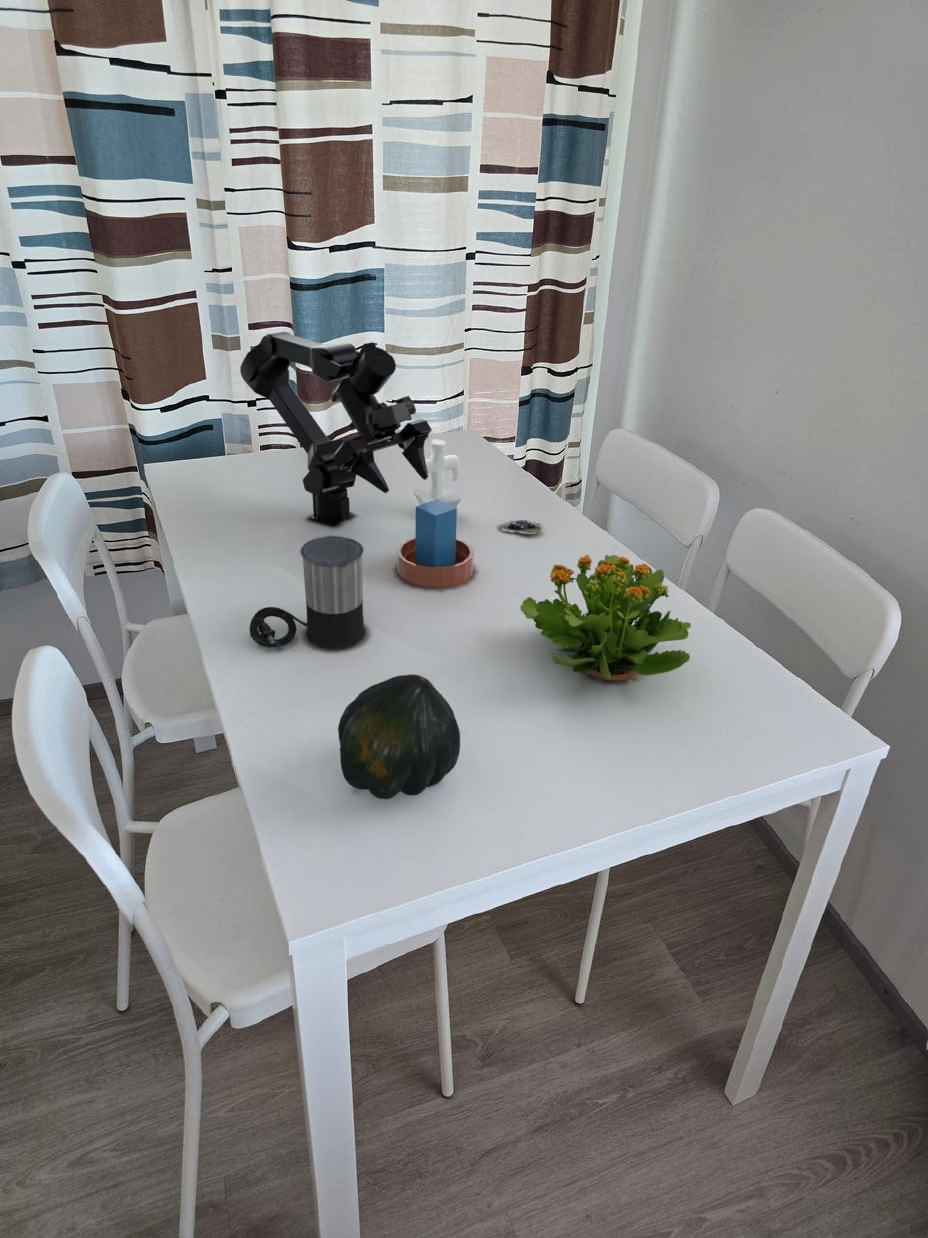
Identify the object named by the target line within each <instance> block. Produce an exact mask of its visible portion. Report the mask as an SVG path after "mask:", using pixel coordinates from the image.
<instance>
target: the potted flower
mask: <svg viewBox="0 0 928 1238" xmlns="http://www.w3.org/2000/svg"><path fill="white" fill-rule="evenodd" d="M630 561H631V560H630V559H629V558H628V557H625V556H622V555H621V556H619V555H616V554H611V555H608V554H606V555H605V556H604V560H603V559H600V560H599V561H598V562H597V566H595V568H594V571H593V574H590V575H589V577H588V576H587V571H590V570H592V568H591V566H592V562H593V559H592V558H591V556H590V555H588V554H585V555H584V556H580V558H578V560H577V568H578V569H579V570H580V573H578V574H577V575H576V577H573V576H572V575H574V574H575V573H576V572H575V571H574V570H573V569H571V568H568V567H566V565H563V564H554V565H553V566H552V569H551V572H550V573H549V574H550V575H549V576H550V582H552V583H553V584H554V585H555V586H556V588H557V589H555V590H554V593H555V594H556V595H558V597H559V598H554V599H553V601H550V599H548V598H546V599H544V600H540V601H538V602H537V601H536V600H535V599H534V598H532V597H531V596H528V597H527V598H525V599H524V600H523V601H522V604H521V605H520V611H521V612H522V613H523V615H525V618H526V619H530V620H531V619H532V620H533V622H534V623H535V624H534V627H535V628H536V629H538V630H542V631H540V635H542V637H545V638H546V639H548V640H551V641H552V643H553V644H557V645H559V646H561V647H562V648H558V649H556V650H555V651H556V652H565V655H566V656H567V657H564V656H561V655H557V654H553V653H550V654H549V656H550V658H551V661H552V662H553V664H554V665H556V666H565V667H572V672H573V673H584V672H585V673H588V674H589V675H590V676H592V677H595V678H597V679H600V680H605V681H609V682H611V681H616V682H620V681H627V680H631V679H632V678H634V677H635V676H637V675H638V674H639V675H641V676H646V677H647V676H656V675H661V674H665V673H669V672H672V671H675V670H676V669H678V668H680V667H682V666H684V664H685V663H687V662H689V661H690V658H691V656H690V655H691V654H689V653H688V652H687V651H686V650H681V649H678V650H675V649H673V650H665V651H662V652H660V653H659V651H656V652H654V653H651V652H652V651H653V650H654V649H655V647H656V646H657V645H658V644H659V643H664V642H674V641H682V640H683V641H684V640H686V639H688V637H689V629H690V628H691V627H692V624H691V623H690V622H688V621H685V622H683V621H681V620H679V617H676V618H675V619H672V618H670V614H671V610H668V611H667V612H666V613H665V615H664V616H663V613H662V612H660V611H659V610H655V611H651V610H650V609H651V607H652V606H653V605H654V603H655V602H656V601H657V600H658V599H659V598H661V597H665V598H669V597H670V596H669V594H668V593H669V590H668V589H669V585H664V584H663V583H664V579H665V576H666V575H665V573H664V570H663V569H657V570H655V571H654V572H653V570H652V568H651V566H649V565H648V564H645V563H640V564H635V565H634V564H633V563H630ZM634 566H635V567H634ZM571 576H572V577H571ZM574 581H575V582H576V583H577V587H578V589H579V591H580V592H581V594H582V598H583V600H584V603H585V605H586V609H587V612H585V613H582V610H581V609H580V607H579V605H577V603H573V604H571V603H569V601H568V597H567V590H566V585H568V584H571V583H574ZM562 590H563V594H562ZM662 616H663V617H662ZM633 623H634V624H633ZM578 645H579V646H578ZM568 653H576V655H577V656H572V655H570V654H568ZM649 653H650V654H649Z"/></svg>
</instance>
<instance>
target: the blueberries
mask: <svg viewBox="0 0 928 1238" xmlns="http://www.w3.org/2000/svg"><path fill="white" fill-rule="evenodd" d="M540 525H541V523H538V522H534V521H531V520H526V519H525V520H524V519H520V520H518V519H517V520H516V521H513V522H510V523H507V524H503V525H501V527H500V530H501V531H503V532H508V533H519V534H524V535H526V536H534V535H537V534H539V532H541V531H542V527H541V526H540Z"/></svg>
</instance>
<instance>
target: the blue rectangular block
mask: <svg viewBox="0 0 928 1238" xmlns="http://www.w3.org/2000/svg"><path fill="white" fill-rule="evenodd" d="M457 519H458V508H457V507H454V506H451V505H449V504H447V503H444V502H442V501H440V500H438V499H436V500H433V501H430V502H427V503H425V504H422V505H420V504H418V505H417V506H415V537H416V547H415V564H416V565H421V566H426V567H447V566H453V565H455V553H456V538H457Z"/></svg>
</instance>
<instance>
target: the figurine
mask: <svg viewBox="0 0 928 1238" xmlns="http://www.w3.org/2000/svg"><path fill="white" fill-rule="evenodd" d="M446 446H447V442H446V441H444V440H442V439H440V438H433V439H431V440H430V450H429V453H430V457H429V458H425V461H426V467H427V472H428V474H430V488H427V489H421V490H415V491H413V494H414V496H415V498H416V500H417V503H418V505H422V504H425V503H427V502H430V501H433V500H436V499H438V500H440V501H442V502H444V503H447V504H449V505H451V506H454V507H456V508H457V507H458V506H459V503H461V501H462V498H461V497H459V496H458V495H457V494H456V493H454V492H453V491H452V490H450V489H449V488H448V487H447V486H445V472H446V471H450V474H449V475H450V480H451V481H452V482H455V483H457V482H459V481H460V475H461V461H460V458H459V456H458V455H456V454H449V455H446ZM425 455H426V454H425V450H424V456H425Z"/></svg>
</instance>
